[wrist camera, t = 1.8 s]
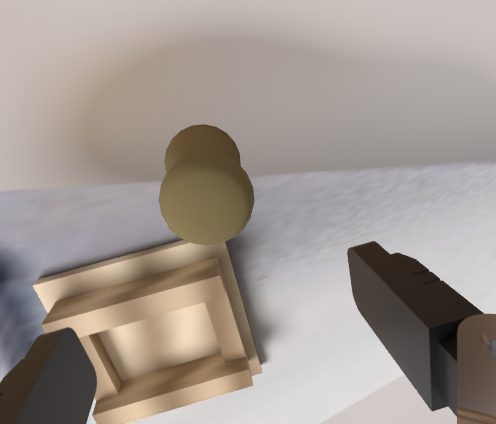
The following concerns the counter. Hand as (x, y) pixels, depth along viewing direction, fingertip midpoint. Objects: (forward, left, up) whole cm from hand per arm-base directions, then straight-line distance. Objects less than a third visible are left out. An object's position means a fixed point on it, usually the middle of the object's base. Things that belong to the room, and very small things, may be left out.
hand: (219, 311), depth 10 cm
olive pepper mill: (0, 0, -20) cm, 20 cm away
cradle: (+8, +14, -19) cm, 25 cm away
